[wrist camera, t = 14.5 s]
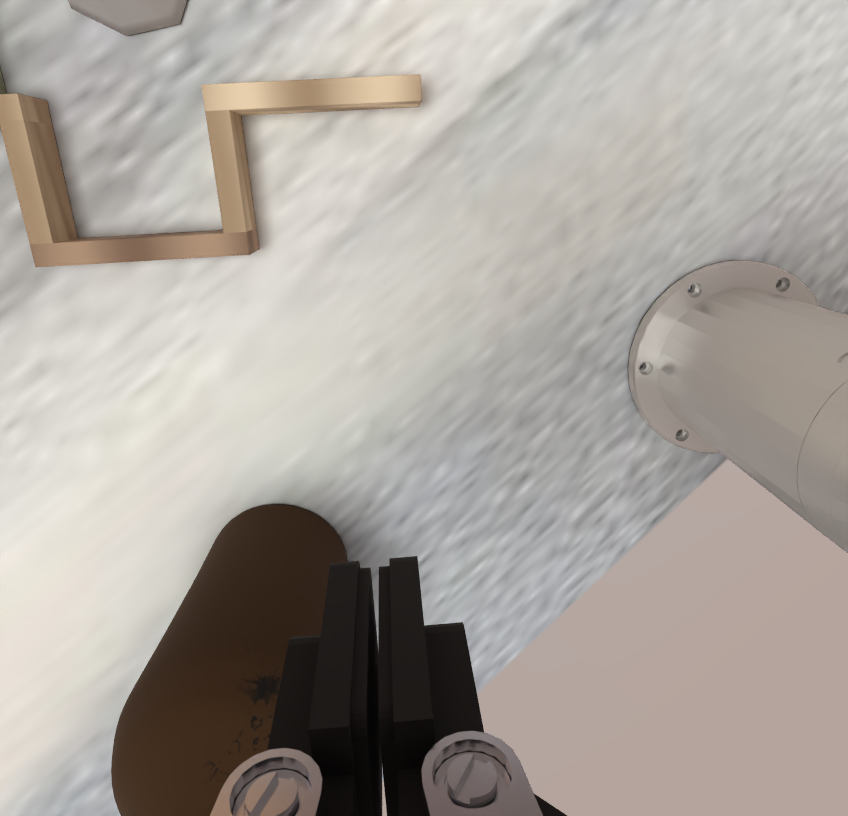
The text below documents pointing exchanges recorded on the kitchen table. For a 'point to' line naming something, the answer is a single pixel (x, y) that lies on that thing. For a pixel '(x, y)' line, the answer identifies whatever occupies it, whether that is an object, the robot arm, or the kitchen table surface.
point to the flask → (132, 13)
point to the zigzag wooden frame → (224, 107)
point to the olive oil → (222, 662)
